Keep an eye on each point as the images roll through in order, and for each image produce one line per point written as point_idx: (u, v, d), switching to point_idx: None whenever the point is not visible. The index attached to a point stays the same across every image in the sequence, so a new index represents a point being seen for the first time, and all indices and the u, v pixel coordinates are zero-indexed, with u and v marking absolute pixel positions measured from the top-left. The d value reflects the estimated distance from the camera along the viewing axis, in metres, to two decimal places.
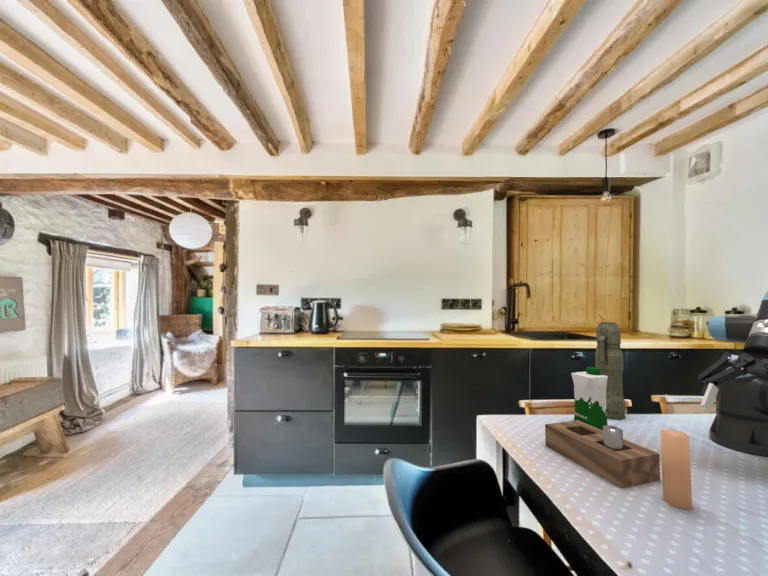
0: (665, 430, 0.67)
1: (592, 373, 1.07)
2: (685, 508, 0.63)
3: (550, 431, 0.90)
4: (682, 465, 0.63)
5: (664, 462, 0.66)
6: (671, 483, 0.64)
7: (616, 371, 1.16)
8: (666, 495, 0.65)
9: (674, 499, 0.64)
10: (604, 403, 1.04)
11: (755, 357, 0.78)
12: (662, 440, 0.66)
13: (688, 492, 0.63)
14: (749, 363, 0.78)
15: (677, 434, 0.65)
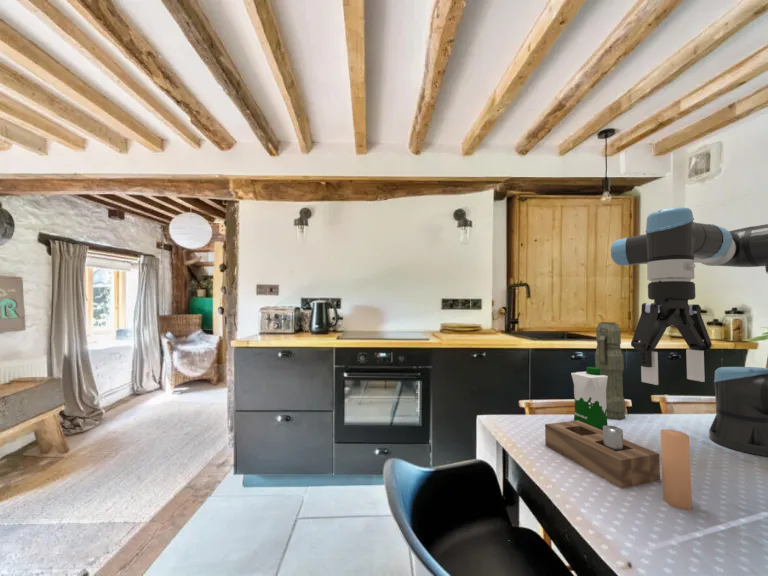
0: (665, 430, 0.67)
1: (592, 373, 1.07)
2: (685, 508, 0.63)
3: (550, 431, 0.90)
4: (682, 465, 0.63)
5: (664, 462, 0.66)
6: (671, 483, 0.64)
7: (616, 371, 1.16)
8: (666, 495, 0.65)
9: (674, 499, 0.64)
10: (604, 403, 1.04)
11: (674, 306, 0.66)
12: (662, 440, 0.66)
13: (688, 492, 0.63)
14: None
15: (677, 434, 0.65)
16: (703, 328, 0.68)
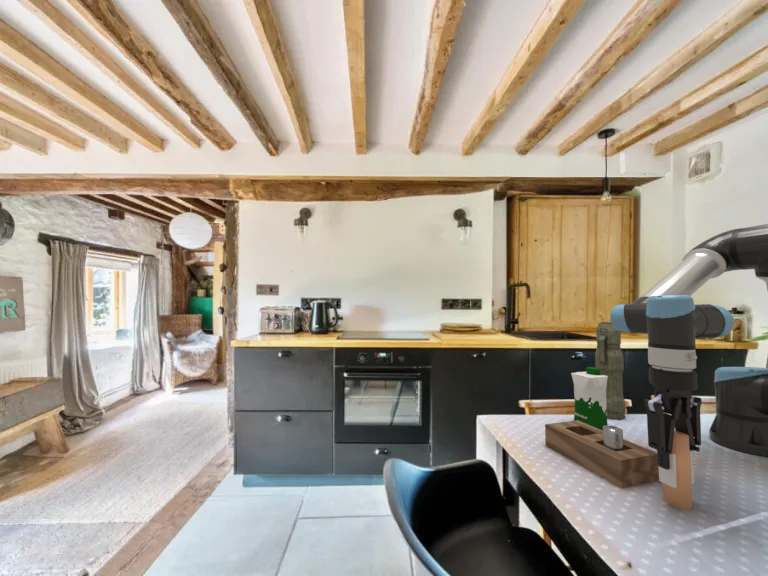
0: None
1: (592, 373, 1.07)
2: (685, 508, 0.63)
3: (550, 431, 0.90)
4: (682, 465, 0.63)
5: None
6: None
7: (616, 371, 1.16)
8: (666, 495, 0.65)
9: (674, 499, 0.64)
10: (604, 403, 1.04)
11: (674, 391, 0.65)
12: None
13: (688, 492, 0.63)
14: None
15: (677, 434, 0.65)
16: (698, 423, 0.66)
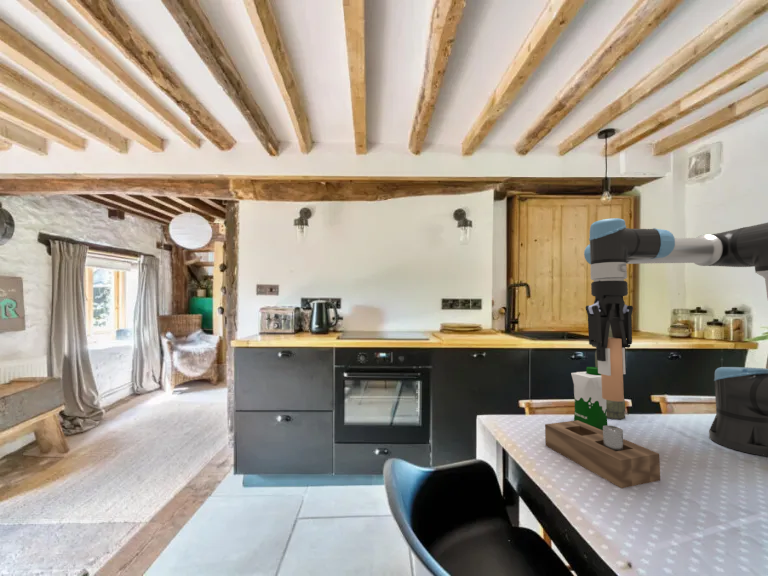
0: None
1: (592, 373, 1.07)
2: (617, 396, 0.76)
3: (550, 431, 0.90)
4: (615, 361, 0.77)
5: None
6: (607, 377, 0.78)
7: None
8: (604, 389, 0.79)
9: (609, 390, 0.77)
10: (604, 403, 1.04)
11: (609, 298, 0.78)
12: None
13: (620, 383, 0.77)
14: None
15: (613, 338, 0.79)
16: (629, 326, 0.80)
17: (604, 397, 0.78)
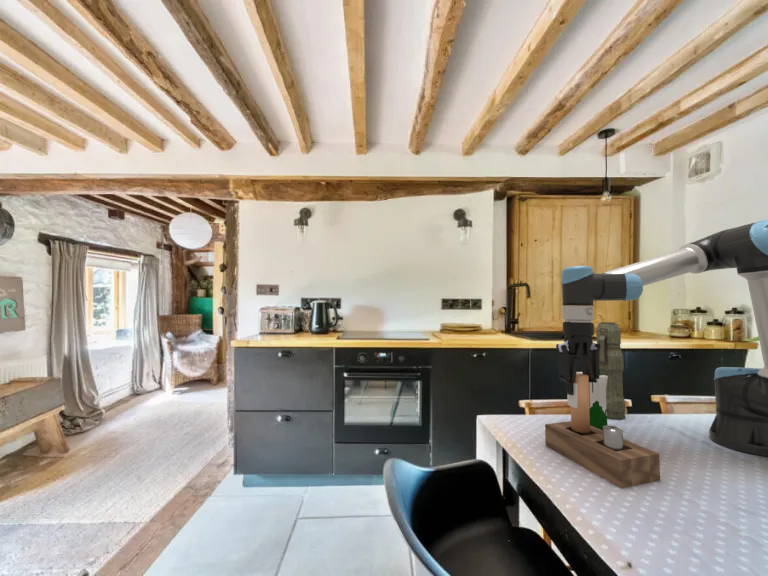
0: None
1: None
2: (584, 428, 0.85)
3: (550, 431, 0.90)
4: (582, 396, 0.85)
5: None
6: (575, 411, 0.86)
7: (616, 371, 1.16)
8: (572, 421, 0.87)
9: (576, 422, 0.86)
10: (604, 403, 1.04)
11: (577, 337, 0.87)
12: None
13: (586, 417, 0.85)
14: None
15: (581, 375, 0.87)
16: (597, 362, 0.88)
17: (572, 428, 0.87)
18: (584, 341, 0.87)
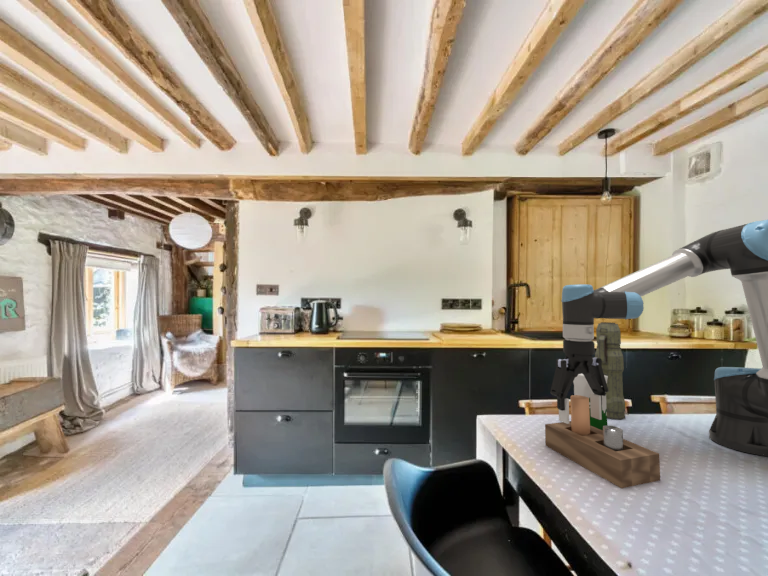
0: (574, 395, 0.89)
1: None
2: None
3: (550, 431, 0.90)
4: (583, 420, 0.85)
5: (572, 419, 0.87)
6: None
7: (616, 371, 1.16)
8: None
9: None
10: (604, 403, 1.04)
11: (579, 358, 0.87)
12: (571, 403, 0.88)
13: None
14: None
15: (581, 397, 0.87)
16: (602, 377, 0.89)
17: None
18: (585, 362, 0.87)
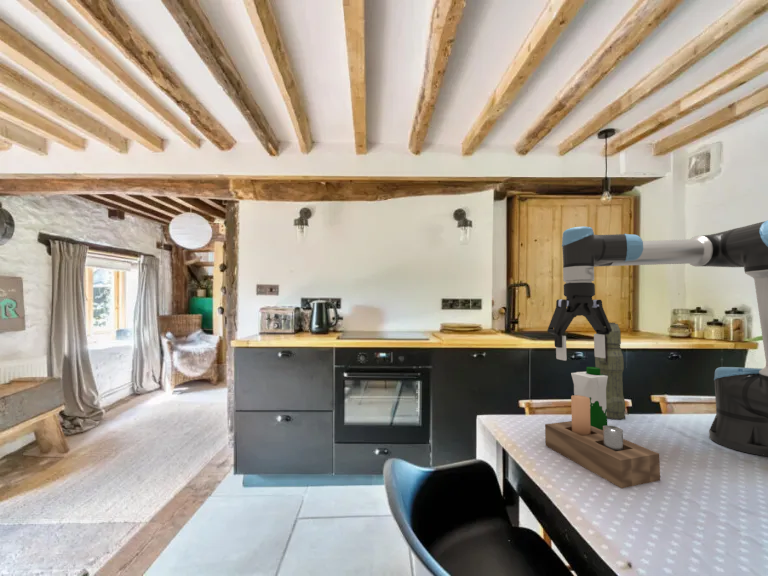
0: (575, 395, 0.89)
1: (592, 373, 1.07)
2: None
3: (550, 431, 0.90)
4: (583, 420, 0.85)
5: (572, 419, 0.87)
6: None
7: (616, 371, 1.16)
8: None
9: None
10: (604, 403, 1.04)
11: (580, 301, 0.87)
12: (571, 403, 0.88)
13: None
14: None
15: (582, 398, 0.87)
16: (604, 317, 0.89)
17: None
18: (585, 305, 0.88)
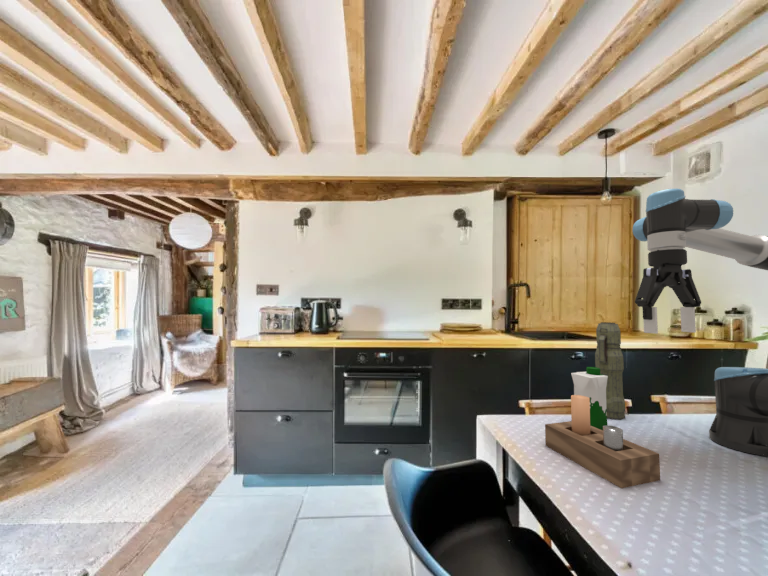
0: (575, 395, 0.89)
1: (592, 373, 1.07)
2: None
3: (550, 431, 0.90)
4: (583, 419, 0.85)
5: (572, 418, 0.88)
6: None
7: (616, 371, 1.16)
8: None
9: None
10: (604, 403, 1.04)
11: (669, 270, 0.80)
12: (571, 402, 0.88)
13: None
14: None
15: (582, 397, 0.87)
16: (694, 289, 0.82)
17: None
18: (675, 275, 0.81)
